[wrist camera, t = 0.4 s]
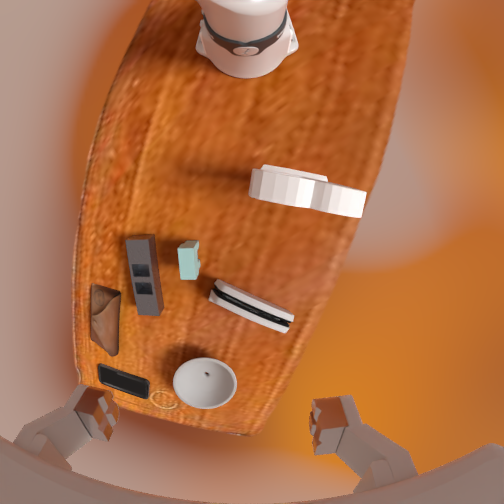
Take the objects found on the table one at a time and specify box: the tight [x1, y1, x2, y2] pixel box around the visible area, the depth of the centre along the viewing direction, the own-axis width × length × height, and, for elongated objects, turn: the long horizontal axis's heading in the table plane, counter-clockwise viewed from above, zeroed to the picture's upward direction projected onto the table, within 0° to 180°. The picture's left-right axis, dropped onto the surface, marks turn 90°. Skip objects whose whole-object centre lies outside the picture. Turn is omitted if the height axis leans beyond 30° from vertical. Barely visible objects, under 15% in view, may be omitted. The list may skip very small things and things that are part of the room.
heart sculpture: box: [248, 165, 367, 218], centre depth 42 cm, size 16×5×18 cm, turn 81°
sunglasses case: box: [91, 283, 121, 356], centre depth 59 cm, size 18×7×7 cm, turn 165°
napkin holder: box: [209, 279, 294, 333], centre depth 54 cm, size 17×5×10 cm, turn 63°
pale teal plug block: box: [178, 240, 200, 280], centre depth 52 cm, size 6×3×6 cm, turn 1°
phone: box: [98, 364, 150, 399], centre depth 66 cm, size 8×1×15 cm
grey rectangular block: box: [125, 234, 164, 316], centre depth 54 cm, size 16×5×4 cm, turn 1°
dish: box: [173, 357, 237, 409], centre depth 62 cm, size 18×14×5 cm
